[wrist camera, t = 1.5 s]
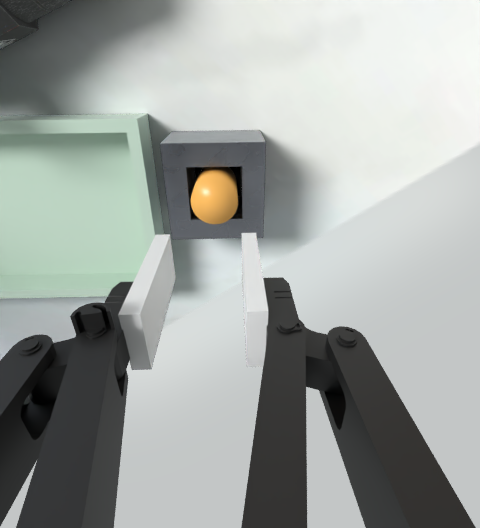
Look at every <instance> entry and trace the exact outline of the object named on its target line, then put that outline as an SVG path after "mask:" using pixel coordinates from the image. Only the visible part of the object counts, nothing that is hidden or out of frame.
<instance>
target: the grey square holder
mask: <svg viewBox="0 0 480 528" xmlns="http://www.w3.org/2000/svg"><path fill="white" fill-rule="evenodd" d="M160 149H161V157H162V165H163V173H164V181H165V189H166V196H167V204H168V212H169V220H170V228H171V236H172V239H215V238H242V233H256V236H257V238H263V224H264V188H265V153H266V141H265V139H264V137H263V135H262V134H261V132H260V130H235V131H172V132H171V133H170V134H169V135H168V136H167V137H166V138H165V139H164V140H163V141H162V142H161V143H160ZM238 166H240V173H241V196H238V207H237V210H236V212H235V214H234V215H233V217H232V218H231V219H229V220H228V221H226V222H224V223H221V224H209V223H206V222H204V221H202V220H200V219H199V218H198V217H197V216H196V215H195V213H194V212H193V210H192V207H191V195H192V192H193V189H194V186H195V183H196V177H195V167H238Z"/></svg>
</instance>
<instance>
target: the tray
mask: <svg viewBox="0 0 480 528" xmlns="http://www.w3.org/2000/svg"><path fill="white" fill-rule="evenodd" d="M155 235H164V229H163V221H162V214H161V207H160V200H159V192H158V185H157V178H156V171H155V163H154V156H153V149H152V142H151V135H150V127H149V120H148V114H85V115H9V116H0V299H10V298H56V297H101V296H108V295H109V293H110V292H111V290H112V288H113V287H115V286H116V285H117V284H118V283H120V282H134V280H135V278H136V275H137V273H138V271H139V269H140V267H141V265H142V263H143V261H144V258H145V256H146V254H147V252H148V250H149V248H150V246H151V243H152V241H153V239H154V237H155Z"/></svg>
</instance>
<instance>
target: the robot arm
mask: <svg viewBox="0 0 480 528" xmlns="http://www.w3.org/2000/svg"><path fill="white" fill-rule="evenodd" d="M175 280H176V276H175V268H174V261H173V253H172V245H171V237H170V234H165V235H155V237H154V239H153V241H152V243H151V246H150V248H149V250H148V252H147V254H146V256H145V258H144V261H143V263H142V265H141V267H140V269H139V271H138V273H137V275H136V278H135V280H134V282H120V283H118V284H117V285H116V286H115V287H113V288H112V290H111V292H110V293H109V295H108V297H107V299H106V301H105V303H90V304H86V305H84V306H82V307H79V308H78V309H77V310H75V311H74V312H73V313H72V315H71V316H70V317H71V320H72V323H73V326H74V329H75V332H76V337H75V338H72V339H69V340H65V341H61V342H56V343H53V341H52V339H51V338H50V337H49V336H47V335H34V336H31V337H28V338H25V339H23V340H21V341H19V342H18V343H17V344H15V345H14V346H13V347H12V348H11V349H10V350H9V351H8V353H7V354H6V355H5V356H4V357H3V358H2V360H1V361H0V526H1V524H2V522H3V520H4V519H5V517H6V515H7V513H8V511H9V509H10V508H11V506H12V504H13V502H14V500H15V499H16V497H17V495H18V493H19V491H20V490H21V488H22V486H23V484H24V482H25V480H26V478H27V477H28V475H29V473H30V471H31V470H32V468H33V466H34V464H35V462H36V461H37V463H36V466H35V469H34V473H33V476H32V479H31V482H30V485H29V488H28V492H27V495H26V498H25V501H24V504H23V508H22V511H21V514H20V517H19V521H18V524H17V527H16V528H114V517H115V508H116V498H117V486H118V477H119V467H120V457H121V446H122V436H123V426H124V416H125V405H126V394H127V385H128V375H127V371H126V368H127V365H128V362H129V360H130V364H131V368H132V370H140V369H141V370H142V369H152V365H153V361H154V358H155V354H156V350H157V346H158V343H159V339H160V335H161V331H162V328H163V324H164V320H165V317H166V313H167V309H168V306H169V302H170V298H171V294H172V291H173V287H174V283H175ZM242 287H243V305H244V324H245V343H246V360H247V367H257V366H258V367H259V366H263V374H262V380H261V388H260V395H259V403H258V411H257V418H256V425H255V432H254V440H253V447H252V455H251V462H250V469H249V477H248V484H247V491H246V498H245V506H244V514H243V521H242V528H307V470H306V469H307V466H306V465H307V463H306V461H307V460H306V387H310V388H314V389H318V390H319V391H320V394H321V397H322V400H323V403H324V406H325V409H326V411H327V415H328V417H329V421H330V424H331V427H332V430H333V433H334V435H335V438H336V441H337V444H338V447H339V450H340V453H341V456H342V459H343V462H344V465H345V468H346V471H347V474H348V476H349V480H350V483H351V485H352V488H353V491H354V494H355V497H356V500H357V503H358V506H359V509H360V512H361V515H362V518H363V521H364V524H365V527H366V528H475V526H474V524H473V523H472V521H471V519H470V517H469V516H468V514H467V512H466V510H465V509H464V507H463V505H462V504H461V502H460V500H459V498H458V497H457V495H456V493H455V492H454V490H453V488H452V487H451V485H450V483H449V481H448V479H447V478H446V476H445V474H444V473H443V471H442V469H441V467H440V466H439V464H438V463H437V461H436V459H435V457H434V455H433V454H432V452H431V450H430V449H429V447H428V445H427V444H426V442H425V440H424V438H423V436H422V435H421V433H420V431H419V430H418V428H417V426H416V424H415V423H414V421H413V419H412V418H411V416H410V414H409V412H408V411H407V409H406V407H405V406H404V404H403V402H402V401H401V399H400V397H399V395H398V393H397V392H396V390H395V388H394V387H393V385H392V383H391V381H390V380H389V378H388V376H387V375H386V373H385V371H384V369H383V368H382V366H381V364H380V363H379V361H378V359H377V357H376V356H375V354H374V352H373V350H372V349H371V347H370V346H369V344H368V342H367V340H366V339H365V337H364V336H363V335H362V334H361V333H360V332H358V331H356V330H355V329H352V328H349V327H336V328H333V329H332V330H330V331H329V333H328V335H326V334H321V333H317V332H314V331H311V330H309V329H307V328H306V327H305V326H304V324H303V323H302V322H301V321H300V320H299V319H298V315H297V311H296V308H295V304H294V301H293V298H292V293H291V290H290V286H289V283H287V281H286V280H284V278H263V274H262V267H261V261H260V255H259V248H258V242H257V236H256V233H242ZM37 459H38V460H37Z"/></svg>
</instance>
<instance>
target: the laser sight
mask: <svg viewBox="0 0 480 528" xmlns="http://www.w3.org/2000/svg"><path fill="white" fill-rule="evenodd" d="M70 1H72V0H0V50H1V49H2V48H4V47H6V46H8V45H10V44H12V43H14V42H16V41H18V40H20V39H22V38H24V37H26V36H28V35H29V34H31V33H33V32H35V31H37V30H38V24H37V19H38V18H39V17H41V16H43V15H45V14H47V13H50V12H52V11H53V10H55V9H57V8H59V7H61V6H62V5H64V4H66V3H68V2H70Z"/></svg>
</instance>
